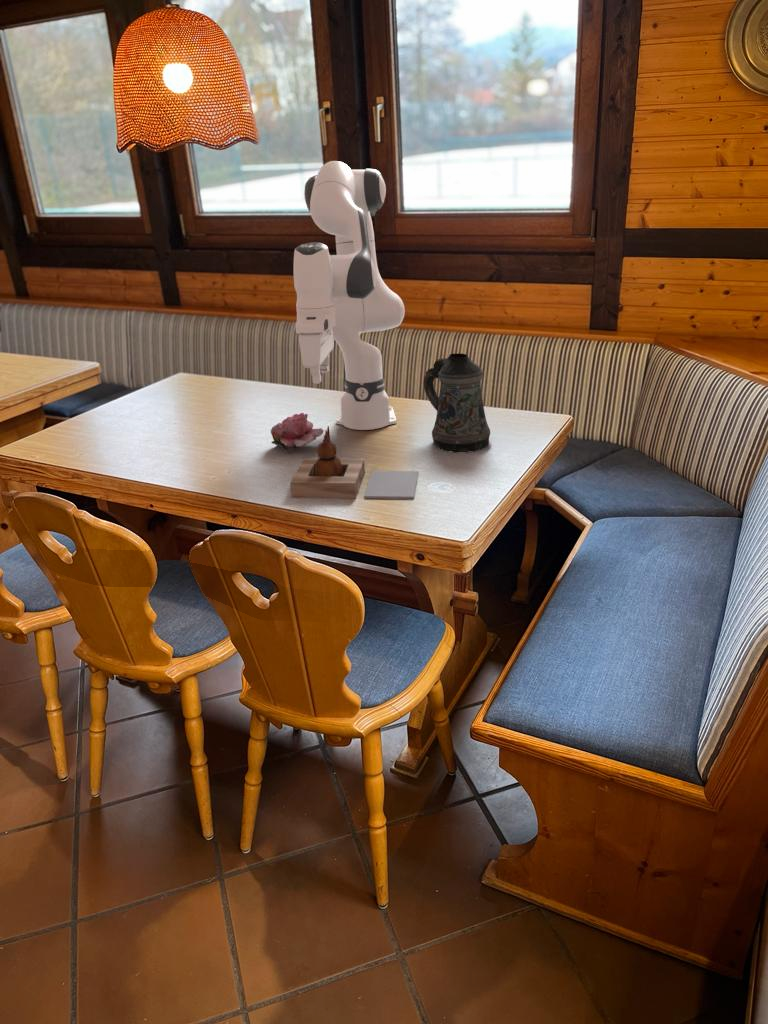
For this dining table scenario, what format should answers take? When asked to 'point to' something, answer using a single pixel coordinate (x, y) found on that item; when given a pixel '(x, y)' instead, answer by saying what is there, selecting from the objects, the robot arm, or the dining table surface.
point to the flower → (294, 431)
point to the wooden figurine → (328, 458)
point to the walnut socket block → (328, 480)
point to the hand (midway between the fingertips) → (321, 377)
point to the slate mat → (392, 485)
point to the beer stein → (457, 404)
